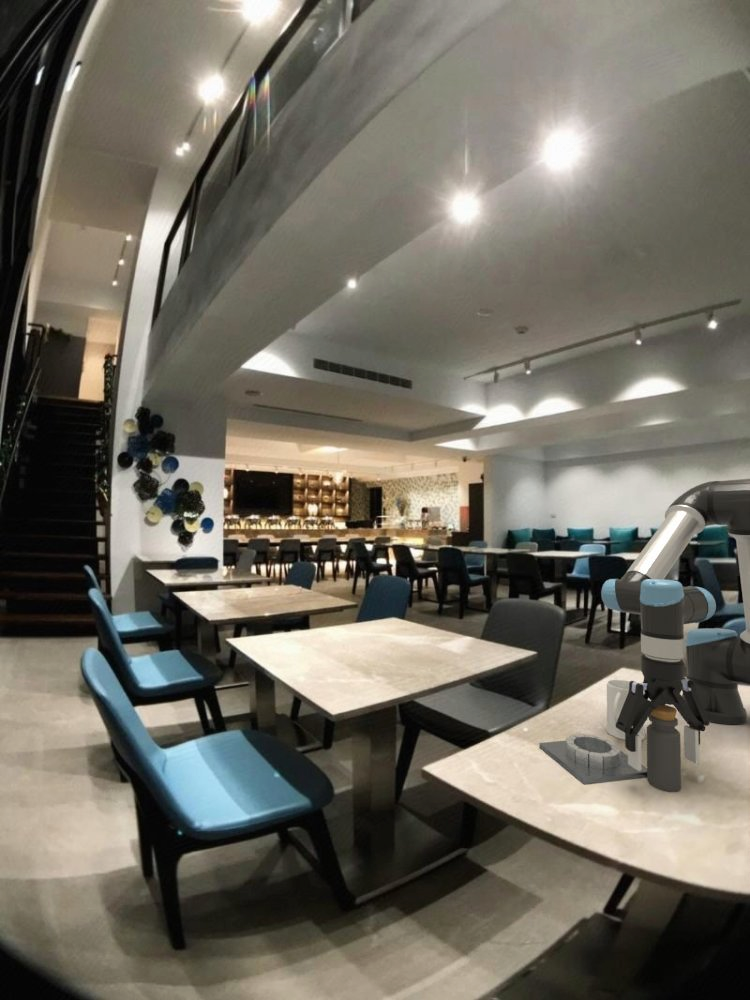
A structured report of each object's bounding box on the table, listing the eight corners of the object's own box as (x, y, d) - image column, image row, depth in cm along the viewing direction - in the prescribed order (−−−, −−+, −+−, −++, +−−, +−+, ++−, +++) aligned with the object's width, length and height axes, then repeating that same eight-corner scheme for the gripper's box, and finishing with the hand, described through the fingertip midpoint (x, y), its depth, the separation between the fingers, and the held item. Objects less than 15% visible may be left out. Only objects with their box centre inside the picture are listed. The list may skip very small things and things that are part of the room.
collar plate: (599, 741, 114) (599, 726, 114) (652, 776, 99) (651, 758, 99) (539, 747, 111) (539, 732, 111) (584, 784, 95) (584, 766, 95)
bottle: (681, 795, 92) (680, 715, 92) (646, 786, 95) (645, 709, 96) (681, 781, 97) (679, 706, 97) (647, 773, 100) (646, 700, 101)
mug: (630, 748, 111) (629, 696, 111) (593, 735, 117) (593, 686, 118) (650, 734, 119) (649, 685, 119) (614, 723, 125) (614, 676, 126)
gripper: (696, 649, 103) (698, 749, 102) (596, 654, 98) (596, 760, 97) (729, 659, 96) (731, 767, 95) (622, 665, 91) (623, 780, 89)
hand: (663, 764), depth 96 cm, fingers open, 13 cm apart
